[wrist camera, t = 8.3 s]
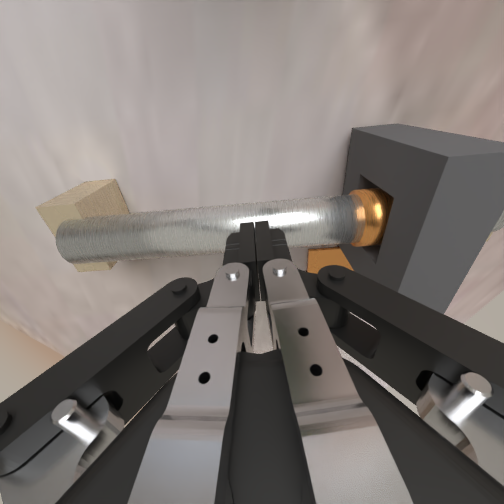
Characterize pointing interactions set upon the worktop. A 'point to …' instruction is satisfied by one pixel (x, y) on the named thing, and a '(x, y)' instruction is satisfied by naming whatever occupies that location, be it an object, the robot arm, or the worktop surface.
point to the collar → (426, 206)
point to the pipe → (209, 226)
